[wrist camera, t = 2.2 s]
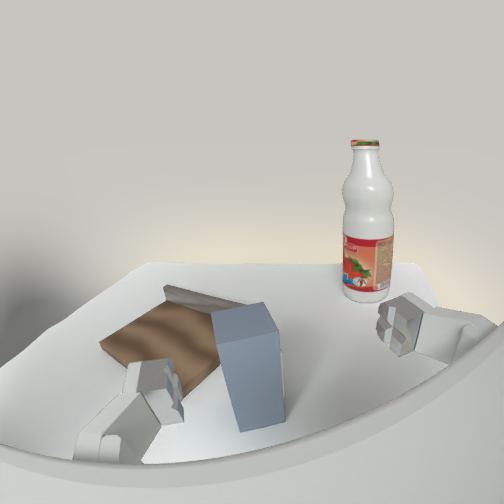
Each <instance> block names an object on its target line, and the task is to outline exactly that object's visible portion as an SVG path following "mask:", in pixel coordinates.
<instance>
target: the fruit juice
mask: <svg viewBox="0 0 504 504" xmlns="http://www.w3.org/2000/svg"><path fill="white" fill-rule="evenodd" d="M351 146H352V150H353V152H354V159H353V165H352V169H351V172H350V174H349V176H348V177H347V179H346V180H345V182H344V184H343V188H342V194H343V199H344V202H345V206H346V210H345V213H344V216H343V285H342V286H343V292H344V294H345V296H346V297H348V298H349V299H351V300H353V301H356V302H361V303H373V302H378V301H380V300H382V299H384V298H385V297H386V296H387V295H388V292H389V288H390V279H391V268H392V256H393V237H394V219H393V215H392V212H391V204H392V200H393V195H394V194H393V187H392V184H391V182H390V181H389V179H388V178H387V177H386V175H385V174H384V172H383V169H382V166H381V164H380V161H379V156H378V150H379V141H378V140H352V141H351Z"/></svg>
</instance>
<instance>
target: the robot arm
mask: <svg viewBox="0 0 504 504" xmlns="http://www.w3.org/2000/svg"><path fill="white" fill-rule="evenodd" d="M378 313H379V315H380V318H379V319H378V321H377V327H376V329H377V333H378V336H379V338H380V339H381V340H382V341H383V342H384V343H388V344H390V349H391V350H392V351H393V352H394V353H395V354H396V355H397V356H398V357H401V356H403V355H405V354H407V353H409V352H411V351H413V350H415V351H416V352H418V353H421V354H424V355H426V356H429V357H431V358H434V359H437V360H439V361H442V362H445V363H447V364H450V365H449V366H447V367H446V368H444V369H443V370H441V371H440V372H438V373H437V374H435V375H434V376H432V377H431V378H429V379H428V380H426V381H424V382H423V383H421V384H419V385H418V386H416V387H414V388H413V389H411V390H409V391H407V392H406V393H404V394H402V395H400V396H398V397H397V398H395V399H393V400H391V401H389V402H387V403H385V404H383V405H381V406H379V407H377V408H375V409H373V410H371V411H369V412H366V413H364V414H362V415H360V416H358V417H355V418H353V419H351V420H348V421H346V422H343V423H341V424H338V425H336V426H333V427H331V428H328V429H325V430H323V431H320V432H317V433H314V434H311V435H308V436H305V437H302V438H299V439H296V440H293V441H289V442H286V443H282V444H279V445H275V446H271V447H267V448H263V449H259V450H255V451H250V452H246V453H241V454H236V455H231V456H225V457H219V458H212V459H205V460H197V461H188V462H178V463H163V464H144V463H143V462H142V461H141V459H142V457H143V455H144V454H145V452H146V451H147V449H148V448H149V446H150V444H151V443H152V441H153V440H154V438H155V436H156V435H157V433H158V431H159V430H160V428H161V425H168V424H176V423H182V422H184V410H183V406H182V404H181V401H182V400H183V392H182V387H181V383H180V380H179V377H178V375H177V374H175V373H174V365H173V363H172V361H171V359H170V358H163V359H155V360H147V361H139V362H131V363H129V365H128V368H127V373H126V377H125V382H124V387H123V392H122V394H118V395H117V396H116V397H115V398H114V399H113V400H112V401H111V402H110V403H109V404H108V405H107V406H106V407H105V408H104V409H103V410H102V411H101V412H100V413H99V414H98V415H97V416H96V417H95V418H94V419H93V420H92V421H91V422H90V423H89V424H87V425H86V426H85V427H84V428H83V429H82V430H81V431H80V432H79V434H78V438H77V442H76V447H75V451H74V456H73V460H69V459H62V458H56V457H50V456H45V455H40V454H36V453H31V452H27V451H23V450H19V449H16V448H13V447H9V446H6V445H3V444H0V504H504V322H503V323H502V324H500V325H499V326H497V325H495V324H494V323H492V322H491V321H489V320H488V319H486V318H485V317H483V316H482V315H479V314H473V313H467V312H462V311H455V310H450V309H445V308H439V307H435V308H433V307H432V306H430V305H429V304H427V303H426V302H424V301H423V300H421V299H420V298H418V297H417V296H415V295H414V294H412V293H406V294H403V295H401V296H399V297H397V298H394V299H392V300H389V301H386V302H384V303H381V304H380V306H379V309H378Z"/></svg>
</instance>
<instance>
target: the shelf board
mask: <svg viewBox="0 0 504 504" xmlns="http://www.w3.org/2000/svg"><path fill="white" fill-rule="evenodd" d="M163 289H164V293H165V296H166V301H165V302H163V303H162V304H160V305H158V306H157V307H155V308H154V309H152V310H150V311H149V312H147V313H145V314H144V315H142V316H141V317H139V318H137V319H136V320H134V321H133V322H131V323H129V324H128V325H126V326H124V327H123V328H121V329H120V330H118V331H116V332H115V333H113V334H112V335H110V336H108V337H107V338H105V339H104V340H102V341H100V342H99V343H100V345H101V347H102V349H103V350H104V351H105V352H107V353H108V354H109V355H110V356H112V357H113V358H114V359H115V360H117V361H118V362H119V363H121V364H122V365H123V366H124V367H126V368H128V365H129V363H131V362H139V361H147V360H155V359H163V358H170V359H171V361H172V363H173V365H174V373H175V374H177V375H178V377H179V380H180V383H181V387H182V392H183V398H184V397H185V396H186V395H187V394H188V393H190V392H191V391H192V390H193V389H194V388H195V387H196V386H197V385H198V384H199V383H201V382H202V381H203V380H204V379H205V378H206V377H207V376H208V375H209V374H210V373H211V372H212V371H213V370H214V369H216V368H217V367H218V366H219V365H220V364H221V362H220V358H219V354H218V350H217V346H216V341H215V335H214V329H213V323H212V317H211V312H216V311H221V310H226V309H231V308H236V307H241V306H246V305H245V304H241V303H237V302H233V301H229V300H224V299H220V298H216V297H212V296H208V295H205V294H201V293H197V292H193V291H189V290H186V289H182V288H178V287H175V286H171V285H166V286H164V287H163Z"/></svg>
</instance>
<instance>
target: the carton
mask: <svg viewBox="0 0 504 504" xmlns="http://www.w3.org/2000/svg"><path fill="white" fill-rule="evenodd" d="M211 317H212V323H213V329H214V335H215V341H216V346H217V350H218V354H219V358H220V362H221V366H222V369H223V373H224V377H225V381H226V384H227V388H228V392H229V395H230V399H231V402H232V406H233V409H234V413H235V416H236V420H237V423H238V426H239V430H240V432H245V431H249V430H254V429H258V428H262V427H267V426H271V425H274V424H278V423H282V422H285V410H284V397H285V387H284V372H283V357H282V351H281V349H280V340H279V331H278V329H277V327H276V325H275V323H274V321H273V319H272V318H271V316H270V314H269V312H268V310H267V308H266V306H265V304H264V303H263V302H260V303H256V304H251V305H246V306H241V307H236V308H231V309H226V310H221V311H216V312H211Z"/></svg>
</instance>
